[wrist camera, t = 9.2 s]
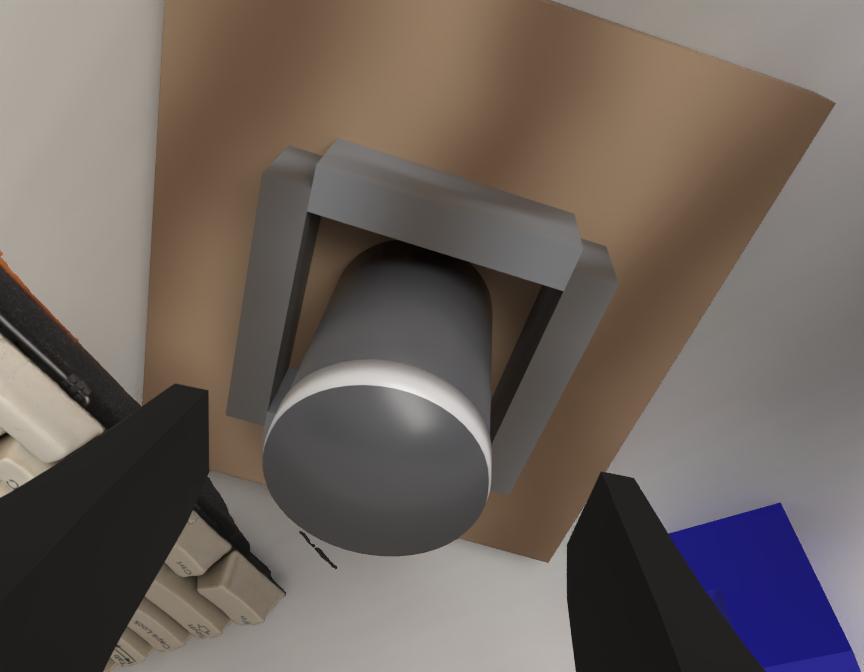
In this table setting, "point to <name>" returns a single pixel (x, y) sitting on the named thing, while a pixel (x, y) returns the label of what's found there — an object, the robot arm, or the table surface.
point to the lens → (390, 407)
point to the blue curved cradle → (767, 591)
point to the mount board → (455, 210)
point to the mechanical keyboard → (79, 425)
